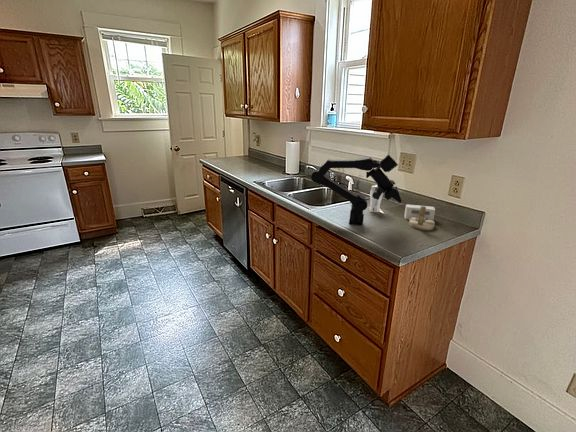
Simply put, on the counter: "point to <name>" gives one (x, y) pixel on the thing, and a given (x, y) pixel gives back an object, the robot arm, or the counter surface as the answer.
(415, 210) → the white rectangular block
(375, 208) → the beer glass
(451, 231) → the counter surface
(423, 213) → the cam dial
